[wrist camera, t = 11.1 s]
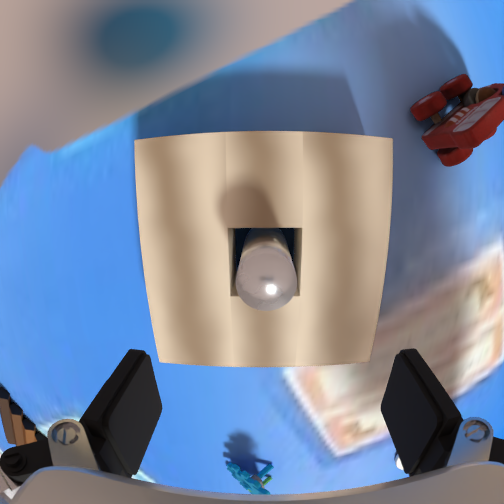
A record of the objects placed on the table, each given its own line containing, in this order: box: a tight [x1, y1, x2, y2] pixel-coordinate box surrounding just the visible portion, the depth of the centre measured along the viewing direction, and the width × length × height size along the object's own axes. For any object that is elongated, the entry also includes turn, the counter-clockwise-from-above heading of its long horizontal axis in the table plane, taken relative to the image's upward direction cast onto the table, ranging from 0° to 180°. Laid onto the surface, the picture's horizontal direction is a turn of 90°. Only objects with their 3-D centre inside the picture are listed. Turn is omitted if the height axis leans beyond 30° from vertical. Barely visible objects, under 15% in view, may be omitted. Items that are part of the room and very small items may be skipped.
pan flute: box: [0, 387, 47, 446], centre depth 43 cm, size 25×3×25 cm
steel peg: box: [236, 228, 297, 311], centre depth 24 cm, size 4×4×10 cm
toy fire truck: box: [410, 74, 504, 167], centre depth 19 cm, size 7×12×10 cm, turn 128°
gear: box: [226, 462, 274, 495], centre depth 37 cm, size 11×6×10 cm
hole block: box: [135, 131, 393, 367], centre depth 26 cm, size 20×20×6 cm
